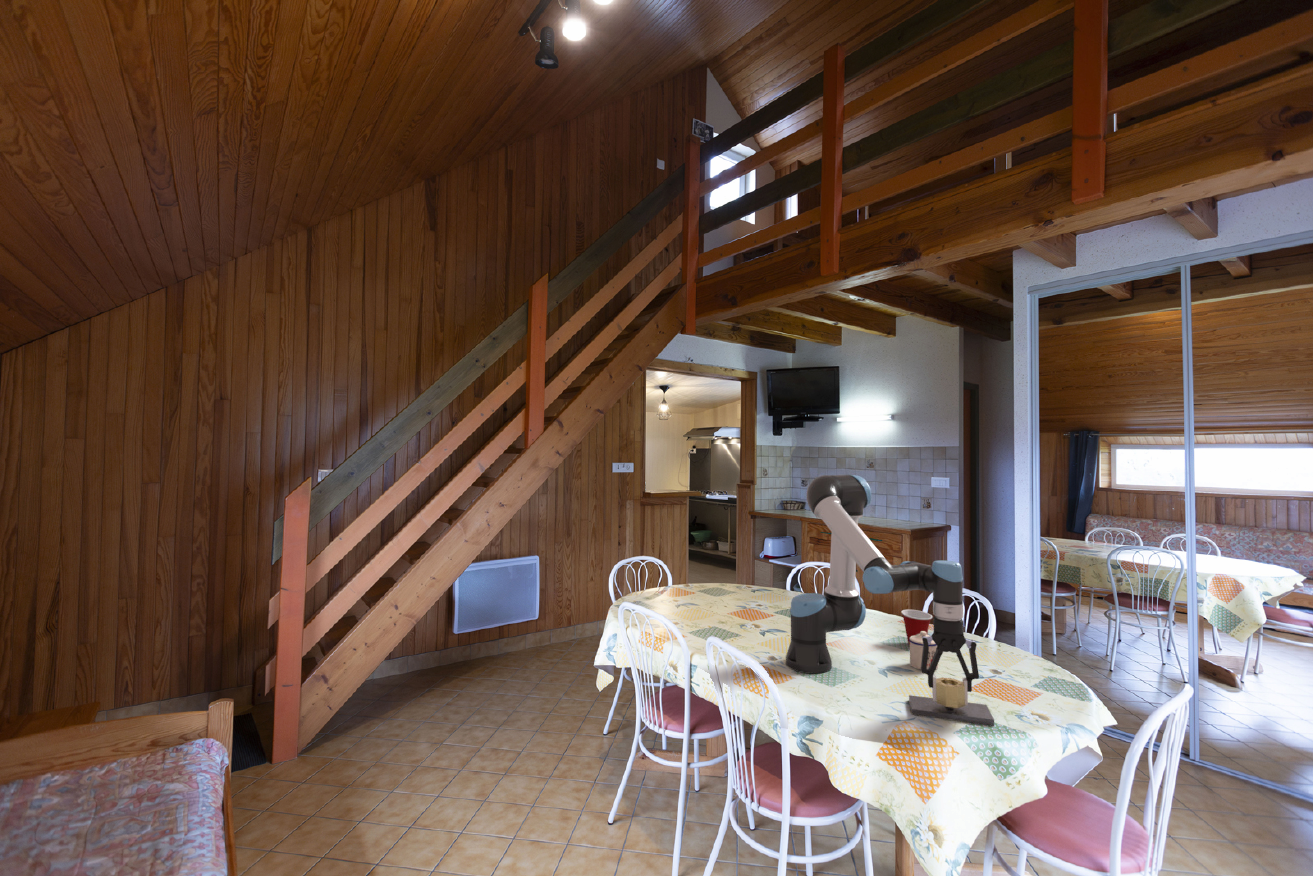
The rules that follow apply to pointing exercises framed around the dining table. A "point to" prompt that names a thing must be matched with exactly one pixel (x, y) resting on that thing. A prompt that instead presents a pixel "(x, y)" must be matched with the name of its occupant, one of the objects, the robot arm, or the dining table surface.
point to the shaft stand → (951, 711)
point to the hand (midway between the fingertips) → (949, 701)
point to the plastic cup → (916, 622)
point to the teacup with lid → (920, 650)
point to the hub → (950, 692)
